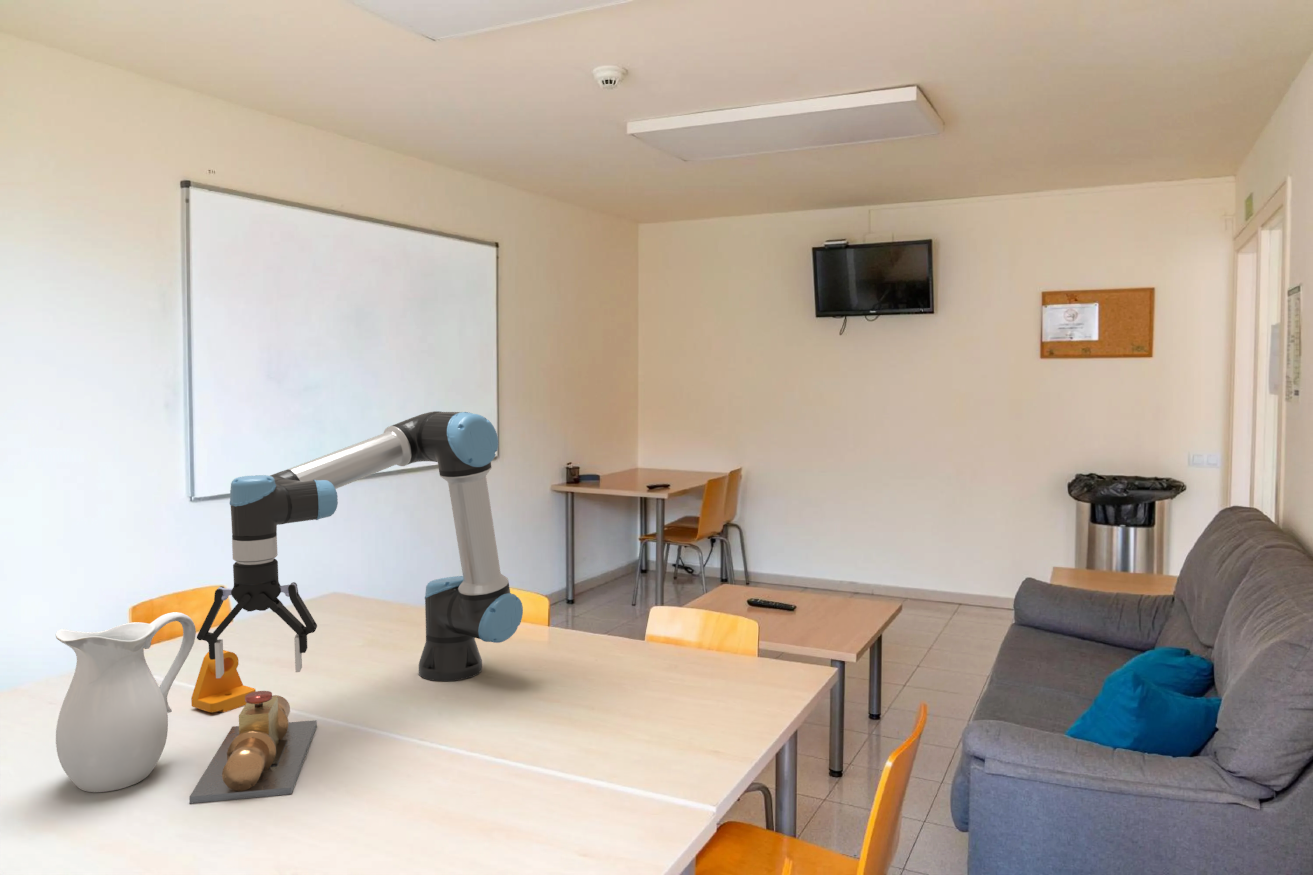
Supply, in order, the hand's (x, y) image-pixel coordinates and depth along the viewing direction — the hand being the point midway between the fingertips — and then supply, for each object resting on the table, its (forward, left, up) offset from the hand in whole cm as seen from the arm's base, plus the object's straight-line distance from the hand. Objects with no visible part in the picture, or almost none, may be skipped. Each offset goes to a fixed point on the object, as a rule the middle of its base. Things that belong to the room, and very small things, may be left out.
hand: (259, 672), depth 165 cm
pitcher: (+21, 0, -17) cm, 27 cm away
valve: (0, 0, -15) cm, 15 cm away
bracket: (+13, -32, -17) cm, 38 cm away
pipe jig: (0, 0, -17) cm, 17 cm away
